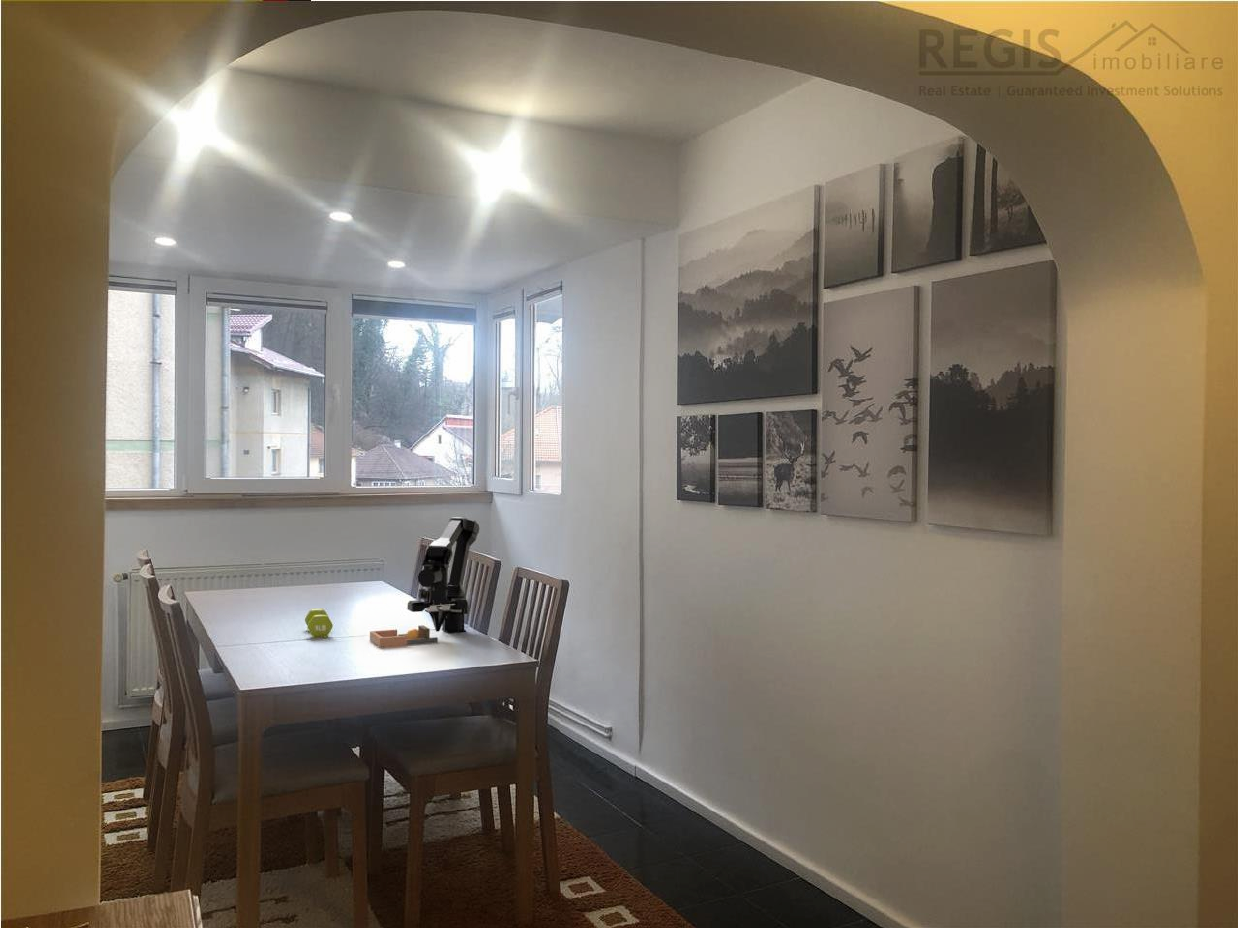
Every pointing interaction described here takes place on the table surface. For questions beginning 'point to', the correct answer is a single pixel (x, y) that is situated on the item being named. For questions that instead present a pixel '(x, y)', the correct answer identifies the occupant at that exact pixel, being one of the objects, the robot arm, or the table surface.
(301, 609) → the table surface
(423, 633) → the brown wooden block
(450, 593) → the robot arm
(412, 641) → the track
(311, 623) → the dumbbell
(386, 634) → the pocket
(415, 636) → the ball
